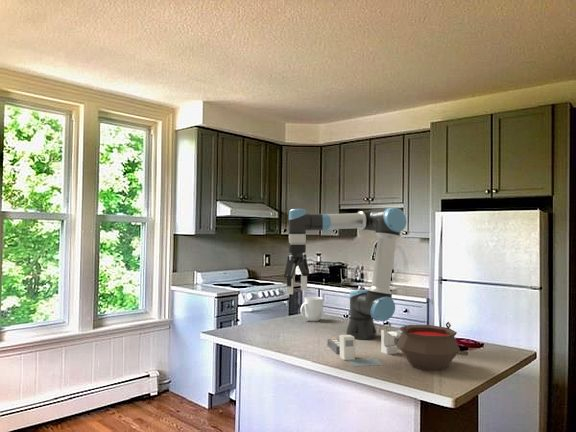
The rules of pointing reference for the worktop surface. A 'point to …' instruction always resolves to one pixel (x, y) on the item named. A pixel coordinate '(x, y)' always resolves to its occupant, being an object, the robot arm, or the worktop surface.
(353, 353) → the block
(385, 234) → the robot arm
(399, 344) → the brown pot
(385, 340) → the white angled block
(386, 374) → the worktop surface
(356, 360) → the mat
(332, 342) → the power strip
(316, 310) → the mug
